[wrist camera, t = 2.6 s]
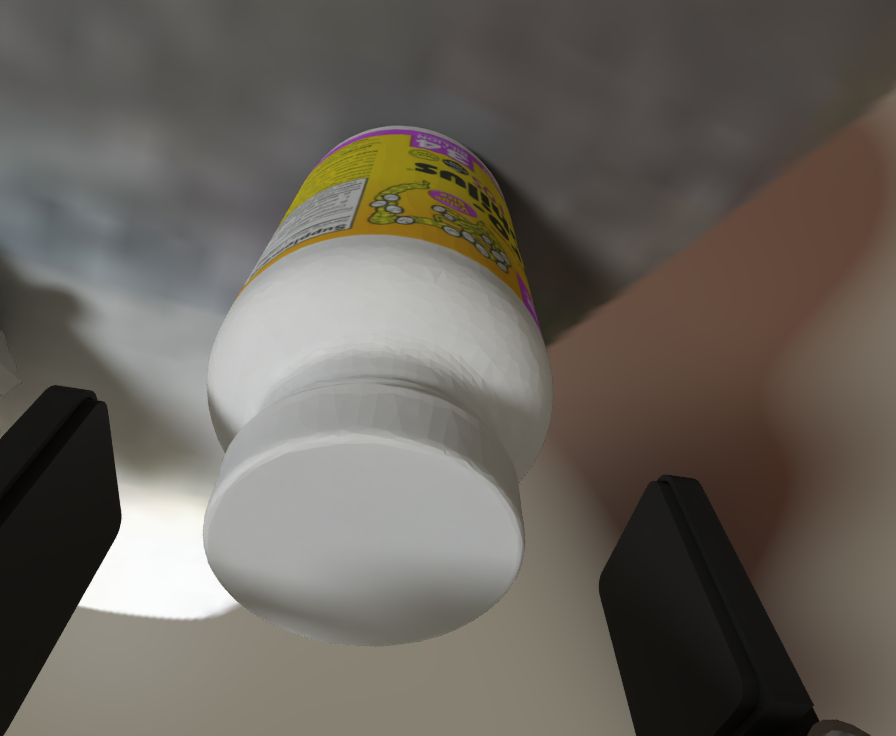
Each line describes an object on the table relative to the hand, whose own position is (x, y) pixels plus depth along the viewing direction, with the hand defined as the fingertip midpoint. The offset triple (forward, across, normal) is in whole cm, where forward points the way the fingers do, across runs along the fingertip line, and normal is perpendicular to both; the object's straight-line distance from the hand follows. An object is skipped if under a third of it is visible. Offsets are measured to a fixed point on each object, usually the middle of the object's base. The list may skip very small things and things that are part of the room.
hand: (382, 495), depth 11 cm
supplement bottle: (+11, 0, -1) cm, 11 cm away
